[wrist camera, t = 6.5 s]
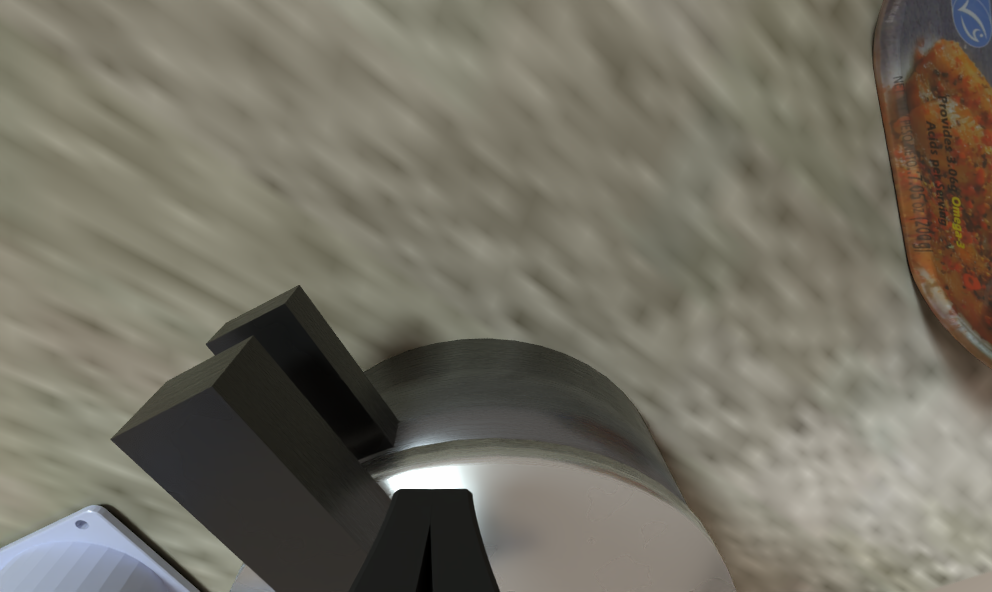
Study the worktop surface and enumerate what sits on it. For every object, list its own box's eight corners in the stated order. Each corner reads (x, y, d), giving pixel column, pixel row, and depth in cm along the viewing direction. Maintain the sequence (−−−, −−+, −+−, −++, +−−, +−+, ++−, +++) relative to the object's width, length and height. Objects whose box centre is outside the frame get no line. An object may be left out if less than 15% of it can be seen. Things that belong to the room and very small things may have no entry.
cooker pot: (415, 653, 27) (402, 801, 21) (127, 347, 19) (-12, 459, 13) (701, 542, 25) (769, 676, 19) (512, 144, 17) (535, 178, 11)
